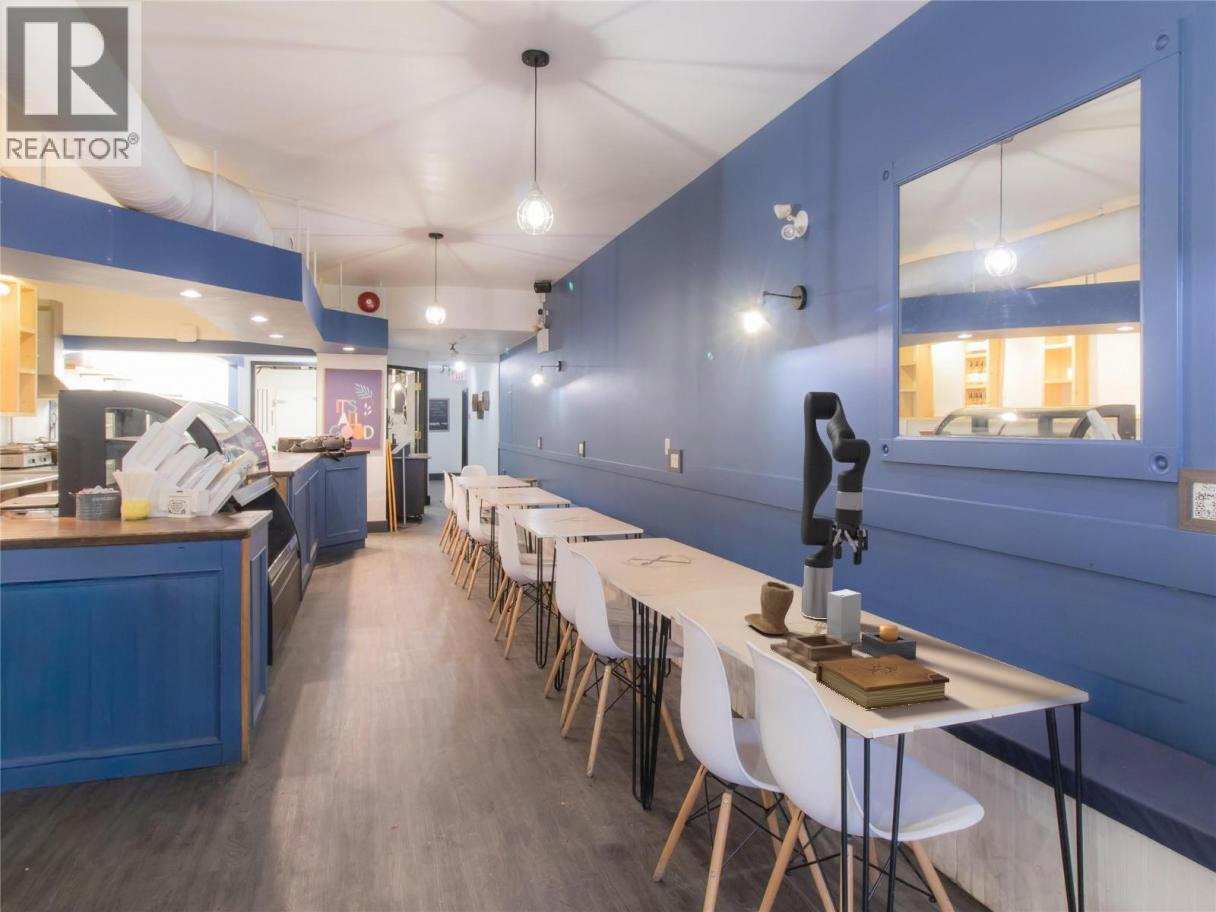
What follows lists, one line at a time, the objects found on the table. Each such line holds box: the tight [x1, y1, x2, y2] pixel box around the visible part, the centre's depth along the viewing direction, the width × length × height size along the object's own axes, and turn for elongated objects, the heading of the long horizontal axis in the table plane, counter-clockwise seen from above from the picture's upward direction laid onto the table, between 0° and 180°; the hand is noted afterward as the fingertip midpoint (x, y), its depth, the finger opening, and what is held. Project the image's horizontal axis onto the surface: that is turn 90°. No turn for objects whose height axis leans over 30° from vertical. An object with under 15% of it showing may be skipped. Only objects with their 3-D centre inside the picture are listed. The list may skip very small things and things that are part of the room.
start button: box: [878, 623, 899, 641], centre depth 193 cm, size 5×5×4 cm
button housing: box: [860, 631, 917, 661], centre depth 193 cm, size 10×10×5 cm
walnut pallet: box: [769, 633, 864, 674], centre depth 190 cm, size 20×18×4 cm
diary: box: [815, 654, 950, 709], centre depth 166 cm, size 23×19×6 cm
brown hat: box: [743, 580, 795, 635], centre depth 216 cm, size 15×12×15 cm
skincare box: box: [826, 588, 862, 645], centre depth 204 cm, size 8×6×15 cm
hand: (847, 561), depth 204 cm, fingers open, 8 cm apart
